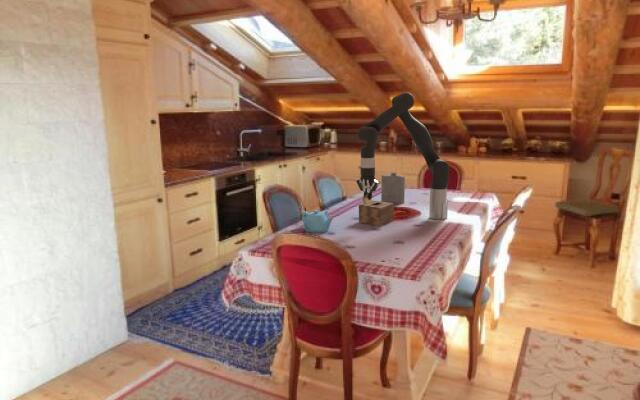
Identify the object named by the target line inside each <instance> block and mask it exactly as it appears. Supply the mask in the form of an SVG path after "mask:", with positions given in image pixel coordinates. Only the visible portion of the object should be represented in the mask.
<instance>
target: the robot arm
mask: <svg viewBox="0 0 640 400" xmlns="http://www.w3.org/2000/svg"><path fill="white" fill-rule="evenodd" d="M414 105H415V97H414V95H413V94H412V93H410V92H402V93H399V94H398V95H395V96H393V97H392V99H391V107H389V108H387V109H386V110H384V111H383V112H381V113H380V114H378V115H377V116H376V117H375V118H374V119H373V120H372V121H370V122H368V123H366V124H364V125H362V126H361V127H360V128H359V129H358V131H357V138H358V139H359V140H360V141H363V142H366V144H365V145H362V146H361V147H360V162H359V163H360V165H359V166H360V178H359V179H357V180H356V181H355V182H356V184H357V186H358V188H359V191H361V192H363V197H364V196H365V195H366V194H368V199H369V200H370V199H372V198H373V192H376V190H377V188H378V187H379V185H380V181H378V180H376V177H375V176H376V156H375V152H376V147H377V142H378V137H379V134H378V133H380V132H382V131H383V130H384V129H385V128H387V126H389V125H390V124H391V123H392V122H393V121H394V120H395V119H397V118H399V119H400V121H401V122H402V123H403V125H404V126H405V128H406V130H407V132H408V133H409V135H410V137H411V139H412V140H413V143H414V144H415V146H416V147H417V149H418V151H419V153H421V156H423V158H424V160H425V163H426V166H427V168H428V170H429V172H430V173H431V174H432V181H431V183H430V185H429V208H428V209H429V213H428V214H429V215H428V217H429V219H432V220H442V221H443V220H445V219H447V218H448V210H449V209H448V208H449V207H448V205H449V203H448V202H449V201H448V200H447V195H448V185H449V181H450V166H449V165H450V164H448V162H447V161H446V160H442V159H441V158H440V156H439V154H437V152H436V150H435V147H434V144H433V139H432V136H431V135H430V133H429V131H428V129H427V127H426V126H425V125H424V124H423V123H422V122H420V121H419V120H417V119H416V118H415V117H414V116H413V115H412V114H411V113H410V109H412V108H413V107H414Z"/></svg>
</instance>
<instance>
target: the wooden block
mask: <svg viewBox="0 0 640 400" xmlns="http://www.w3.org/2000/svg"><path fill="white" fill-rule="evenodd" d="M361 200H362V204H364V205H368V204H369V203H370V202H371V201H372V200H373V199H372V198H371V199H370V200H369V199H368V194H366V195H365V196H364V195H363V197H362V199H361Z"/></svg>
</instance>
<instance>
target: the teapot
mask: <svg viewBox="0 0 640 400" xmlns="http://www.w3.org/2000/svg"><path fill="white" fill-rule="evenodd" d="M332 220H333V217H332V216H329V211H328V210H324V212H321V211H319V210H318V209H314V210H313V211H311V212H308V211H306V210H305V211H303V212H302V216H301V221H302V223H303V224H302V226H303V229H304V231H305V232H306V233H309V234H321V233H322V234H323V233H326V232H327V231H329V230H330V227H331V226H330V225H331V223H332Z"/></svg>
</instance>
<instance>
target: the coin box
mask: <svg viewBox="0 0 640 400" xmlns="http://www.w3.org/2000/svg"><path fill="white" fill-rule="evenodd" d="M394 211H395V203H391V202H381V200H374V199H372V201H371V202H370V203H369V204H368V205H364V204H363V203H360V204H358V223H361V224H366V225H370V226H371V225H372V226H377V227H378V226H379V227H381V226H384V225H387V224H389V223H392V222H394V219H395V218H394V217H395V215H394V213H395V212H394Z"/></svg>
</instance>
